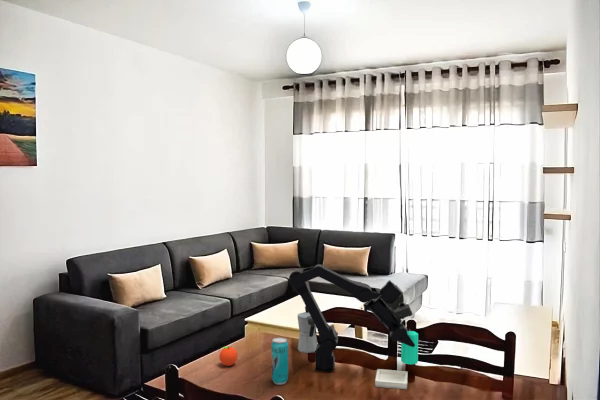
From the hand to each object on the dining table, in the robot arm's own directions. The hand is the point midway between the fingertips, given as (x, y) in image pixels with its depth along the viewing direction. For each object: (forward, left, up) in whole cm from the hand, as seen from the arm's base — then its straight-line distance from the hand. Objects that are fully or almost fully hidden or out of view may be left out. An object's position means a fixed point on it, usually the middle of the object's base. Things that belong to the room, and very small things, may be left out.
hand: (413, 343), depth 177 cm
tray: (-7, -10, -11) cm, 16 cm away
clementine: (-69, -7, -11) cm, 71 cm away
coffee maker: (-42, +15, -11) cm, 46 cm away
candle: (-1, 0, -7) cm, 7 cm away
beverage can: (-45, -18, -11) cm, 50 cm away
